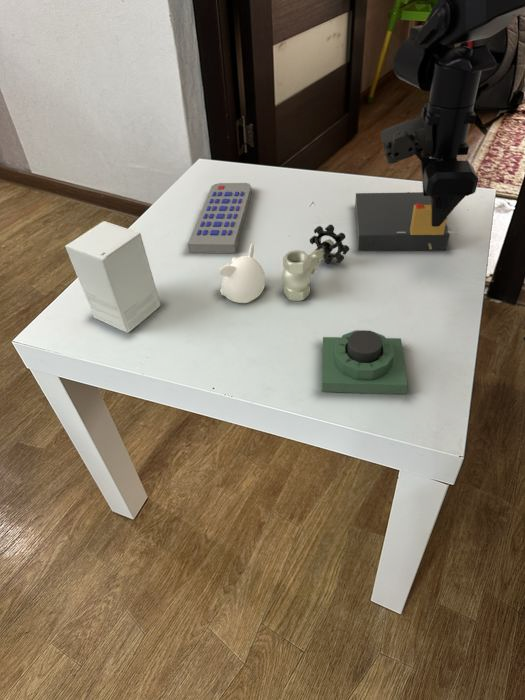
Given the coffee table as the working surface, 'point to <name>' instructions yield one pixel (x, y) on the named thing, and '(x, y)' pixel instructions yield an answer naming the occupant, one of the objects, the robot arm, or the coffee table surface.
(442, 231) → the tap handle
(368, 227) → the panel
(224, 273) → the figurine
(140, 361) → the coffee table surface
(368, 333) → the button
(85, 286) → the white packaging box
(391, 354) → the button box
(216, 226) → the remote control
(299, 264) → the valve
